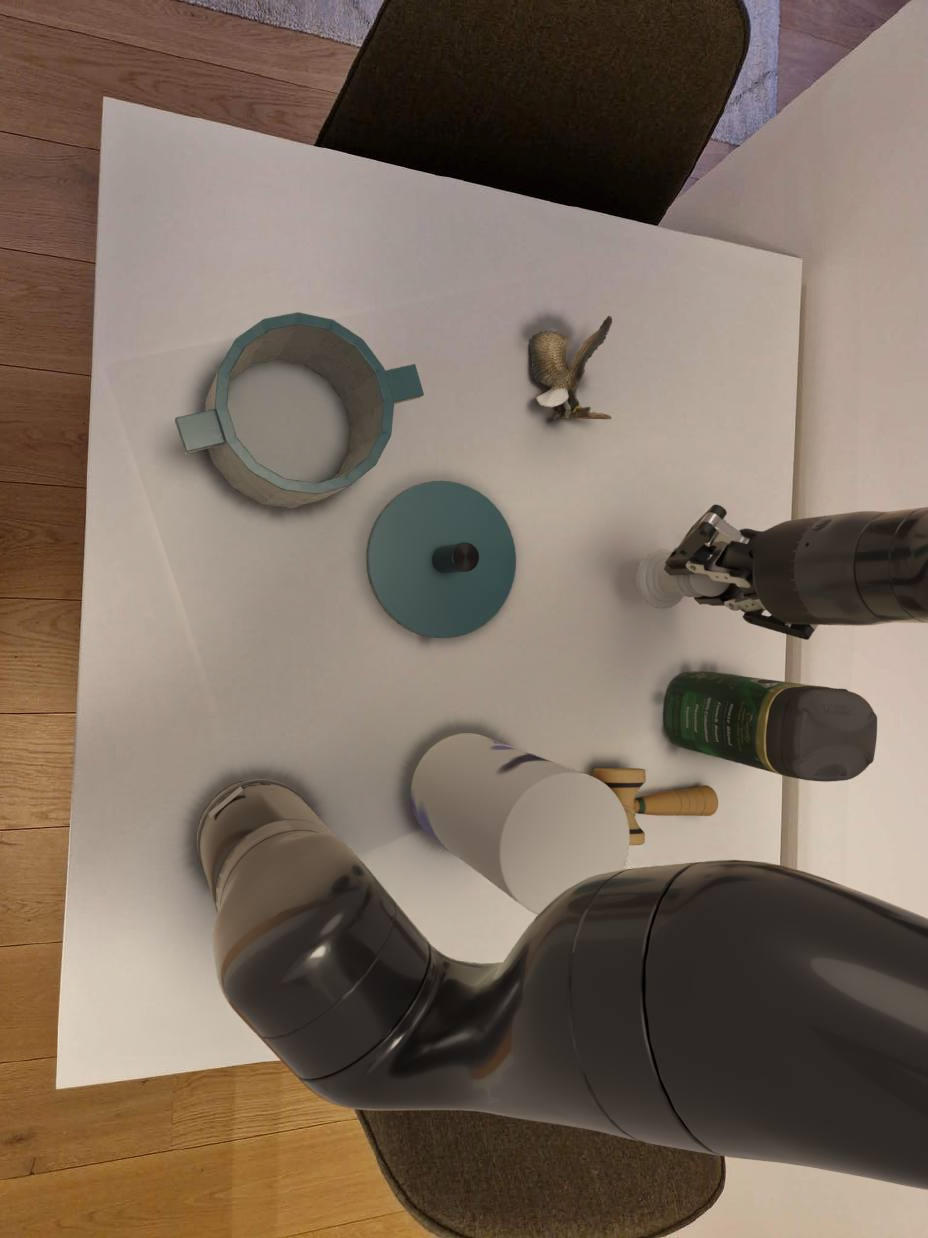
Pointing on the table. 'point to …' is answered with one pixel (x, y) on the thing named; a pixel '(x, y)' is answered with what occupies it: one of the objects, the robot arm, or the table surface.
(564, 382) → the eagle figurine
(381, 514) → the lid
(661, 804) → the kendama
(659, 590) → the chess piece
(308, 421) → the table surface
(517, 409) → the table surface
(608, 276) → the table surface
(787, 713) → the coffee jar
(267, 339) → the pot
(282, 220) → the table surface
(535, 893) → the container
